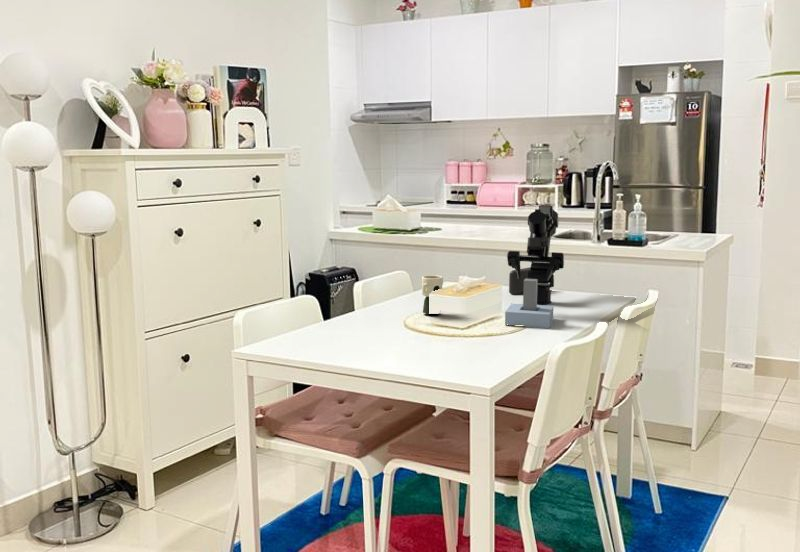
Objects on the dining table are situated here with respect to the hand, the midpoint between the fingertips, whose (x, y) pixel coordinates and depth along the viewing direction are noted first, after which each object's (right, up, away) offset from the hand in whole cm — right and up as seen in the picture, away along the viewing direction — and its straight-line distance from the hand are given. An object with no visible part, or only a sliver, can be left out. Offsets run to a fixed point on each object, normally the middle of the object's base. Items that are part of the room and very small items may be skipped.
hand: (533, 279), depth 272 cm
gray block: (-2, -13, -6) cm, 14 cm away
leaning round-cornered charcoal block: (+4, -5, +47) cm, 47 cm away
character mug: (-33, -12, +6) cm, 36 cm away
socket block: (-2, -14, -5) cm, 15 cm away
